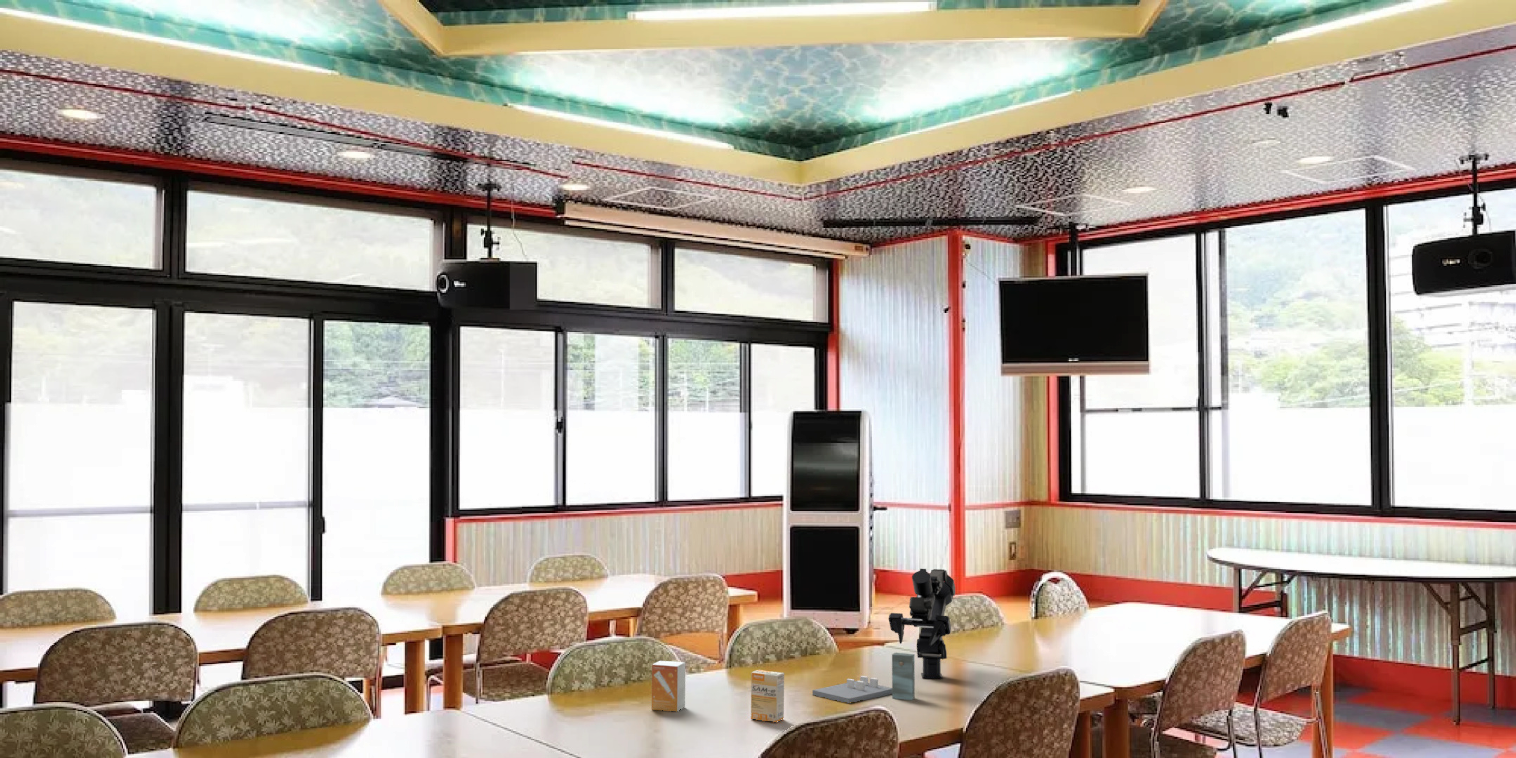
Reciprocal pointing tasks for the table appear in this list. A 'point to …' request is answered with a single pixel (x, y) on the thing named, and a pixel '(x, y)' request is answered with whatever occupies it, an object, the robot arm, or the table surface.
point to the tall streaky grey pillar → (903, 676)
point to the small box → (668, 685)
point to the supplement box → (767, 695)
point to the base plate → (854, 690)
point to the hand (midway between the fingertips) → (915, 643)
